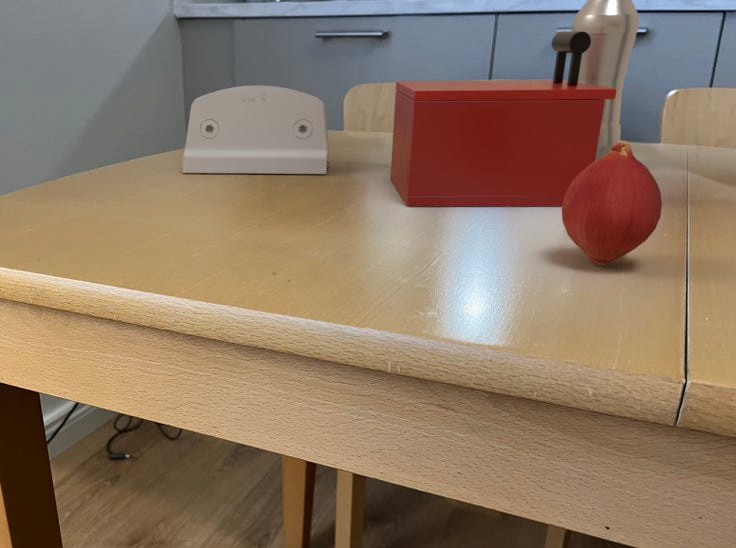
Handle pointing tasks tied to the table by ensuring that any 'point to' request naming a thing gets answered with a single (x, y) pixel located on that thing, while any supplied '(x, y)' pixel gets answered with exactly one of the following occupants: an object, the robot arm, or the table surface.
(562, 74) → the box door
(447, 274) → the table surface
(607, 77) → the silver metal bottle
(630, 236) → the onion
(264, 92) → the white curved plastic bracket
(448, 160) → the open red box
